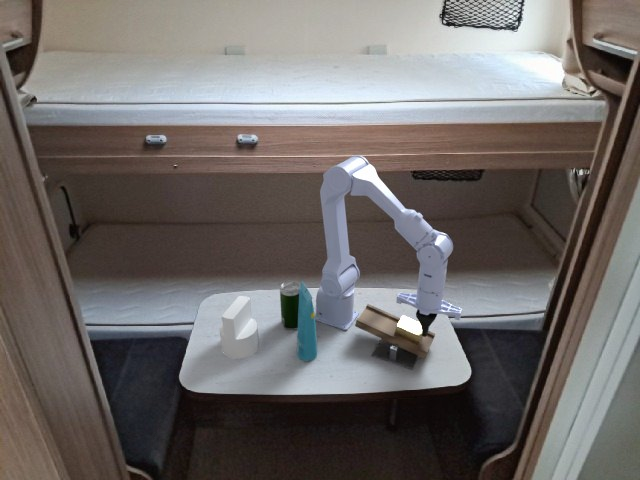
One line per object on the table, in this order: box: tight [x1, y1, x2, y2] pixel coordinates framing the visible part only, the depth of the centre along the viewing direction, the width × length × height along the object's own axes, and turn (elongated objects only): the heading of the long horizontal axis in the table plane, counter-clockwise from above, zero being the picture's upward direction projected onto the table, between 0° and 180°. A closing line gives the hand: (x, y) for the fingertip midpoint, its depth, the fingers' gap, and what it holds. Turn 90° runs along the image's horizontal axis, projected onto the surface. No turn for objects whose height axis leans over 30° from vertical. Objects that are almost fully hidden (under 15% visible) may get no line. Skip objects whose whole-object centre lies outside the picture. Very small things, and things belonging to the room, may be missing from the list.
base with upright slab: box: [218, 295, 260, 360], centre depth 113 cm, size 9×9×12 cm
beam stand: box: [371, 338, 420, 371], centre depth 115 cm, size 10×13×4 cm
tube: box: [296, 279, 318, 362], centre depth 109 cm, size 7×5×19 cm, turn 26°
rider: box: [394, 315, 422, 345], centre depth 112 cm, size 6×4×3 cm
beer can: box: [279, 280, 301, 331], centre depth 120 cm, size 5×5×12 cm
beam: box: [354, 303, 436, 360], centre depth 115 cm, size 18×8×3 cm, turn 62°
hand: (424, 334), depth 111 cm, fingers closed, pressing on rider
